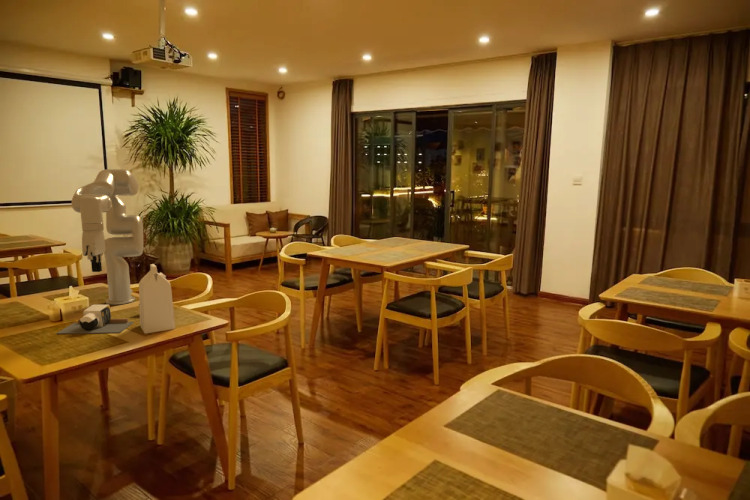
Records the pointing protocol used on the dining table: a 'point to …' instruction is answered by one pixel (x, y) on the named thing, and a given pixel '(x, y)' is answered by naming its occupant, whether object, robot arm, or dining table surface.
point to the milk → (155, 302)
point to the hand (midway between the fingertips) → (97, 271)
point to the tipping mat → (110, 327)
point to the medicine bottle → (95, 317)
